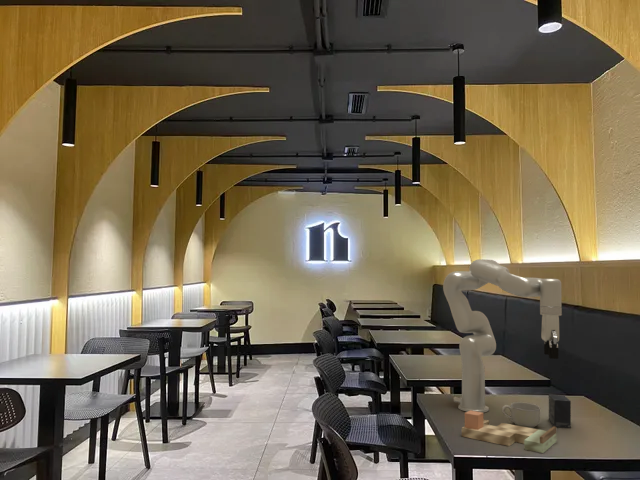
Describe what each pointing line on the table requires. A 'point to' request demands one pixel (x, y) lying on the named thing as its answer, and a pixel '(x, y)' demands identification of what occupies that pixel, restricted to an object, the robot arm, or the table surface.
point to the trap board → (513, 436)
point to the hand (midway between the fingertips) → (551, 356)
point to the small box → (559, 411)
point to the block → (474, 420)
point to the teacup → (523, 414)
